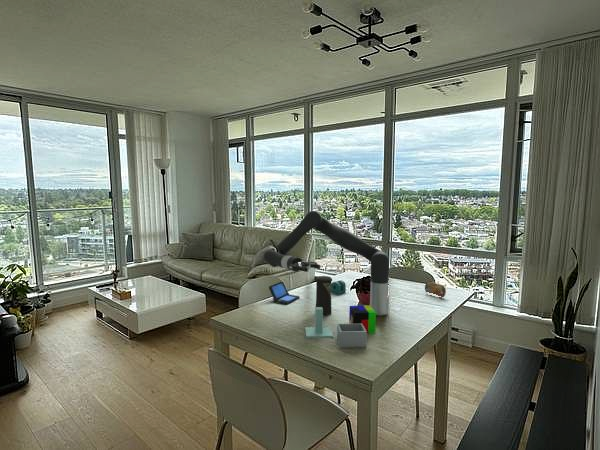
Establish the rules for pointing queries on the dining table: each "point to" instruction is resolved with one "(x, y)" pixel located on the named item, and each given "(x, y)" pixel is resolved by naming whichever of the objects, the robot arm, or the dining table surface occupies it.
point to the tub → (351, 335)
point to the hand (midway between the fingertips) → (313, 268)
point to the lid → (318, 327)
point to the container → (323, 294)
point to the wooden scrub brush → (435, 288)
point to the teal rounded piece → (338, 287)
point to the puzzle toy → (363, 317)
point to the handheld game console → (282, 294)
